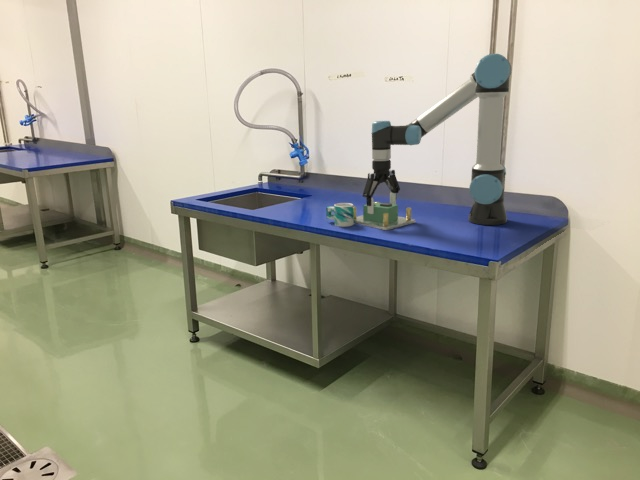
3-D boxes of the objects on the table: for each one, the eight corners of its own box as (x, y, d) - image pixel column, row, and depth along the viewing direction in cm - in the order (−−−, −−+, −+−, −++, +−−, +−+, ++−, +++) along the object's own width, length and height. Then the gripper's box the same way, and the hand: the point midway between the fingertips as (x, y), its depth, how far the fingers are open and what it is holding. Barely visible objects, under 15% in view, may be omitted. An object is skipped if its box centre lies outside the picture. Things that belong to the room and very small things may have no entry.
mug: (346, 227, 217) (345, 207, 215) (322, 223, 224) (322, 204, 222) (357, 223, 223) (357, 203, 221) (334, 220, 230) (333, 200, 228)
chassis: (415, 222, 222) (415, 207, 220) (386, 230, 210) (386, 215, 209) (376, 214, 238) (376, 200, 236) (347, 221, 227) (347, 207, 225)
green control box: (397, 218, 224) (398, 202, 222) (388, 222, 217) (388, 206, 216) (373, 215, 231) (373, 199, 229) (363, 219, 224) (363, 203, 222)
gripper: (394, 156, 228) (395, 204, 233) (353, 162, 212) (354, 214, 218) (408, 157, 222) (408, 207, 228) (366, 163, 207) (367, 217, 212)
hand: (381, 210), depth 223 cm, fingers open, 13 cm apart
